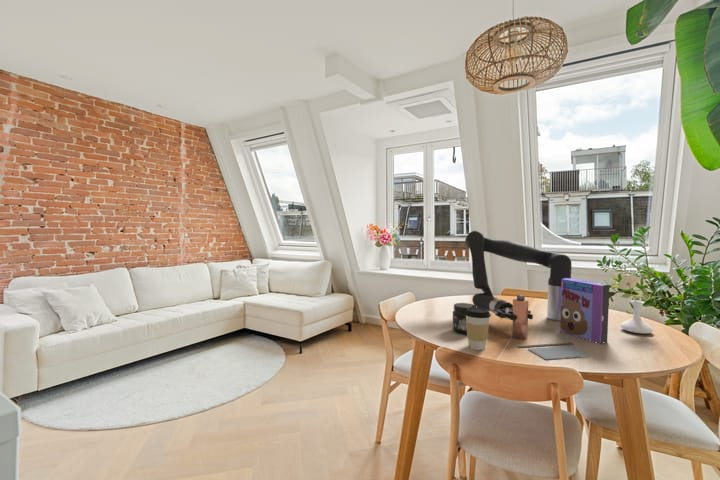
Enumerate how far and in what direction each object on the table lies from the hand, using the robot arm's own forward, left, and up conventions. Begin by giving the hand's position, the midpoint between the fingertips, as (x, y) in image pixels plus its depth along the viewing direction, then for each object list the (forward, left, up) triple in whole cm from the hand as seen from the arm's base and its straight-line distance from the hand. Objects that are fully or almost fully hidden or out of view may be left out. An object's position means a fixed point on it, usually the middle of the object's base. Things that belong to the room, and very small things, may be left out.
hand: (522, 317), depth 147 cm
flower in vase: (-55, 0, -9) cm, 56 cm away
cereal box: (-27, +2, -9) cm, 29 cm away
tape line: (-4, +9, -9) cm, 13 cm away
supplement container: (+20, -13, -9) cm, 26 cm away
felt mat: (-3, +17, -9) cm, 20 cm away
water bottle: (0, -2, -9) cm, 9 cm away
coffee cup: (+24, +6, -9) cm, 26 cm away
